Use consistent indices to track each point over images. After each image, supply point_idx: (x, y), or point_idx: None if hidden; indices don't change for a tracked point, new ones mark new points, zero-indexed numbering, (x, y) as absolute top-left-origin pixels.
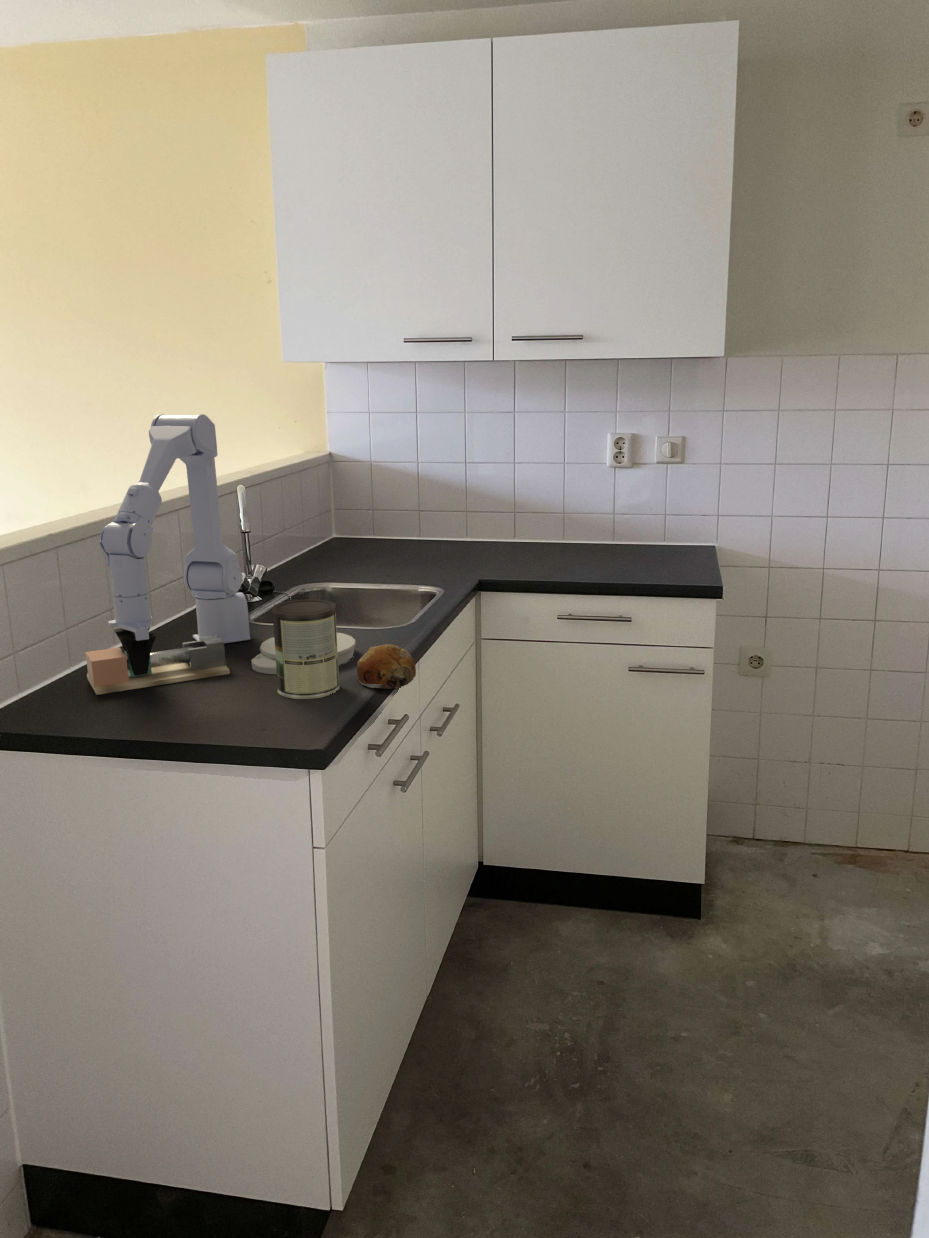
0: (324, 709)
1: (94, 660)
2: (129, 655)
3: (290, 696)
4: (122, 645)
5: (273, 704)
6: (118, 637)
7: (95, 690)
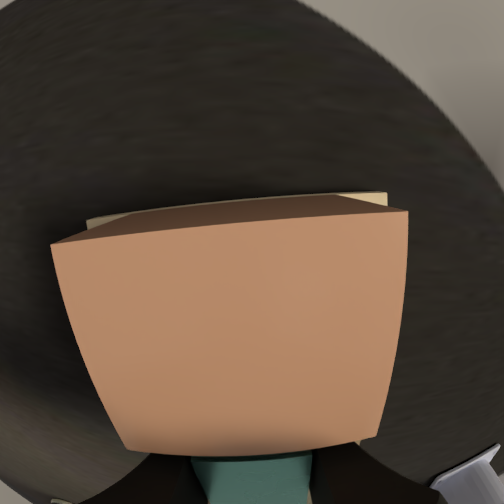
0: (23, 490)
1: (69, 271)
2: (141, 463)
3: (53, 500)
4: (358, 460)
5: (30, 478)
6: (404, 482)
7: (103, 217)
